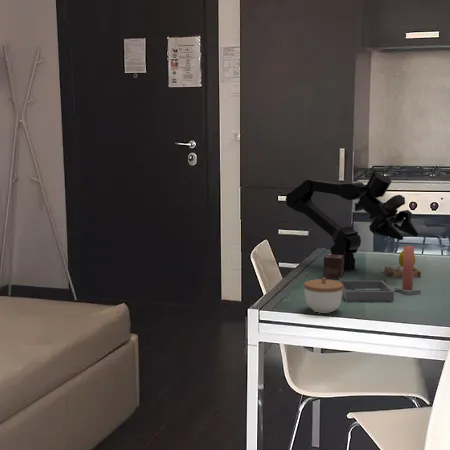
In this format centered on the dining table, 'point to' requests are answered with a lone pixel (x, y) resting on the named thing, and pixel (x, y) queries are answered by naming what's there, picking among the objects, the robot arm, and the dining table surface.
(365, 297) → the bin
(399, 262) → the lemon
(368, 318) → the dining table surface
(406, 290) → the red post on base
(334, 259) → the box
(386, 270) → the pebble tray
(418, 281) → the dining table surface
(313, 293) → the lidded jar
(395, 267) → the grey sphere
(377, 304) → the dining table surface
